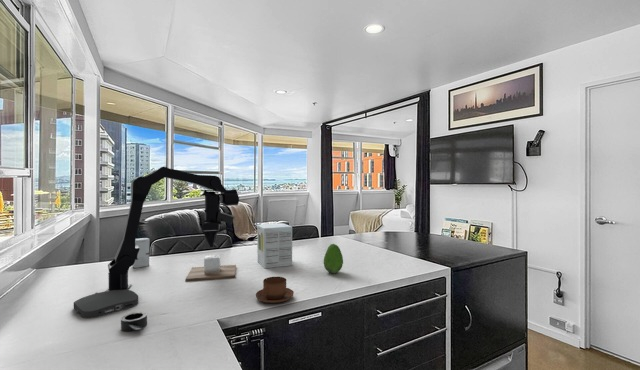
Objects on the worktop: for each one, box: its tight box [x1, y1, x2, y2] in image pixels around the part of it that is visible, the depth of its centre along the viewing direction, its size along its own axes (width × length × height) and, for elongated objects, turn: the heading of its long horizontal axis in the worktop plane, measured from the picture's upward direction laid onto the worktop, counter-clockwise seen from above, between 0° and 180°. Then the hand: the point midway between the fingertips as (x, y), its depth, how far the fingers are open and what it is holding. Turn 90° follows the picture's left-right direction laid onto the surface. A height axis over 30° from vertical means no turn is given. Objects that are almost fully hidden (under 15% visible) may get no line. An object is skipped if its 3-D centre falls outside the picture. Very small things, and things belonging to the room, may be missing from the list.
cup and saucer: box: [255, 276, 295, 304], centre depth 100 cm, size 12×12×6 cm
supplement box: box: [256, 222, 293, 269], centre depth 143 cm, size 13×13×18 cm
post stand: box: [184, 264, 237, 282], centre depth 128 cm, size 16×18×5 cm
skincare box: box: [131, 237, 151, 269], centre depth 139 cm, size 6×4×12 cm
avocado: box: [323, 243, 344, 274], centre depth 128 cm, size 8×8×12 cm
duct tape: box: [120, 311, 148, 333], centre depth 81 cm, size 8×10×3 cm
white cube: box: [203, 254, 222, 274], centre depth 128 cm, size 6×6×6 cm
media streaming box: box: [73, 289, 139, 319], centre depth 95 cm, size 15×15×3 cm
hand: (212, 244), depth 128 cm, fingers open, 9 cm apart
